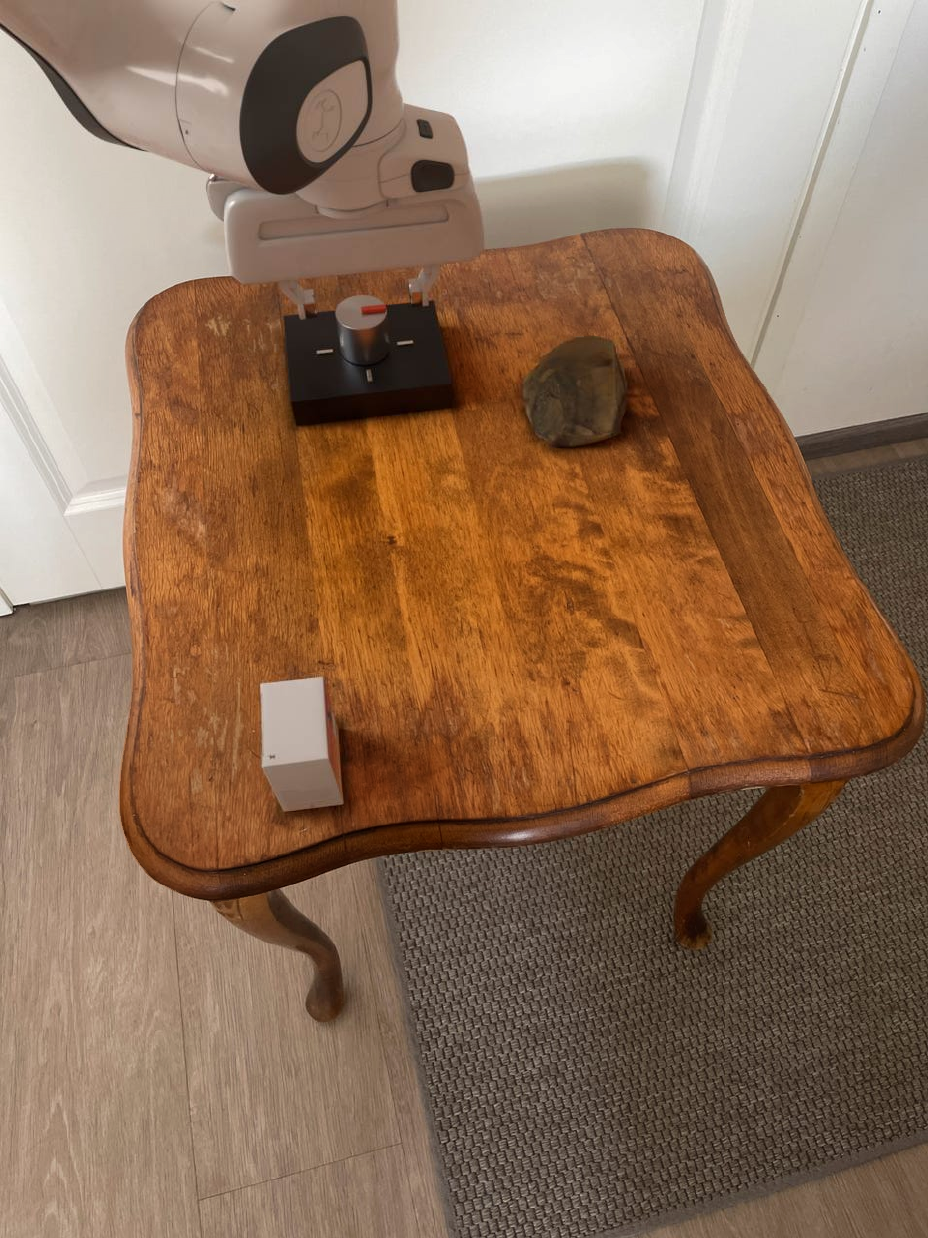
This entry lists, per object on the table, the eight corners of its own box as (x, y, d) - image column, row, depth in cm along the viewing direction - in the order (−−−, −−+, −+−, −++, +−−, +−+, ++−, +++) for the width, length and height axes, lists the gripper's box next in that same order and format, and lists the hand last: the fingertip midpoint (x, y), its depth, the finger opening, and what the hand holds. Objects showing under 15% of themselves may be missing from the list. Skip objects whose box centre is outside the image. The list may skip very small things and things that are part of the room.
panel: (295, 426, 80) (290, 400, 77) (288, 340, 86) (282, 313, 83) (452, 407, 81) (452, 381, 78) (434, 325, 87) (433, 298, 84)
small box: (344, 806, 62) (330, 761, 55) (282, 813, 61) (260, 769, 55) (339, 726, 65) (325, 674, 58) (280, 733, 65) (259, 681, 58)
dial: (342, 367, 79) (337, 328, 76) (338, 333, 82) (332, 294, 78) (392, 362, 80) (389, 323, 76) (386, 328, 82) (383, 289, 78)
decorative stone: (638, 446, 79) (646, 417, 76) (532, 453, 78) (535, 425, 75) (615, 361, 84) (621, 331, 81) (516, 368, 84) (518, 338, 81)
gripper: (199, 192, 63) (242, 347, 75) (490, 163, 64) (486, 320, 76) (199, 140, 66) (239, 296, 78) (475, 114, 68) (474, 271, 79)
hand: (364, 308), depth 77 cm, fingers open, 8 cm apart
